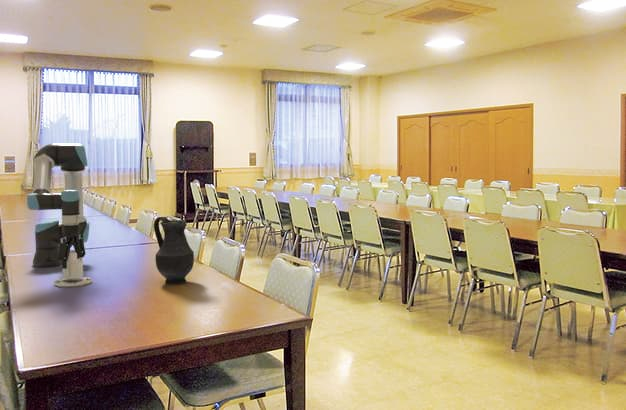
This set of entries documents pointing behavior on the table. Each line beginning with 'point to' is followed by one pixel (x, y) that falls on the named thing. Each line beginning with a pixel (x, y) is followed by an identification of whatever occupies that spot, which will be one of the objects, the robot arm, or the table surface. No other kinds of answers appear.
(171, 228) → the pitcher
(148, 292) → the table surface
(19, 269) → the table surface
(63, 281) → the flange
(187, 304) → the table surface
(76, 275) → the medicine bottle
